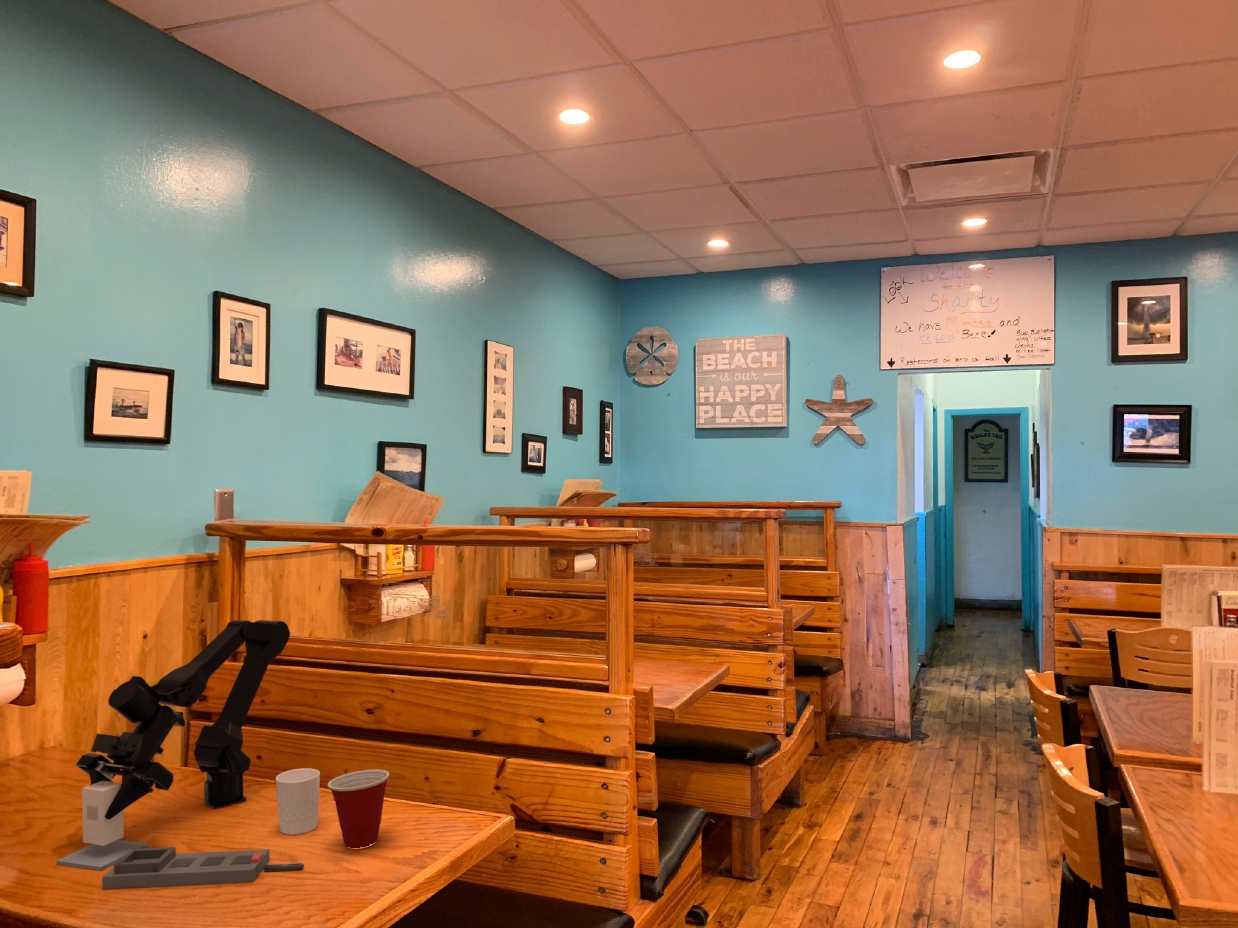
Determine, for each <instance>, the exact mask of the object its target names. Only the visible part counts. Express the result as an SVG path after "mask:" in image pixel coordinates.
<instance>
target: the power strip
mask: <svg viewBox="0 0 1238 928" xmlns="http://www.w3.org/2000/svg"><path fill="white" fill-rule="evenodd" d="M176 849H177V848H176V846H171V847H168V846H167V847H166V846H165V847H150V848H149V847H147V848H145V849H132V850H131V851H129V852H128V853H127V854H126V855H125V856H124V857H122V858H121V859H120V860H119V861H118V862H117V863H115V864H114V865H113V867H112V868H111V869H110V870H108V871H107V872H106V874H104V875H103V876H102V878H101V879H102V890H114V889H116V890H117V889H135V888H156V887H174V886H175V887H177V886H195V885H196V886H197V885H198V886H200V885H217V884H218V885H219V884H220V885H221V884H233V883H234V884H237V883H236V882H242V883H254V882H255V881H256V879H257V878H258V877H259V876H260V874H261V873H262V872H263V871H264V872H275V871H276V872H278V871H281V870H282V871H299V870H300V871H301V870H303V869H304V868H305V864H304V863H303V862H297V863H293V862H292V863H279V864H278V863H276V864H269V863H270V861H271V860H270V857H271V855H270V849H252V850H250V849H249V850H231V851H230V850H228V851H208V852H205V851H204V852H184V853H177V850H176ZM261 871H262V872H261ZM260 872H261V873H260ZM259 873H260V874H259ZM257 876H258V877H257ZM254 880H255V881H254Z"/></svg>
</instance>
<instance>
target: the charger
mask: <svg viewBox="0 0 1238 928" xmlns="http://www.w3.org/2000/svg"><path fill="white" fill-rule="evenodd" d="M121 785H122V782H121V783H120V782H114V781H113V782H108V781H101V782H98V783H95V784H92V785H87V786H84V787H82V788H81V802H82V804H81V807H82V843H84V844H85V843H86V844H90V845H92V844H96V845H101V846H104V845H107V844H109V843H111V842H113V841H116V840H121V839H123V838H124V837H125V835H124V810H122V811H121V812H120V813H118V814H117V815H115V816H114V817H113V818H111V819H106V818H105V814H106V812H107V810H108V808H109V806H110V805H111V803H112V801H113V800H114V798H115V796H116V794H117V793H118V791H119V789H120V788H121Z"/></svg>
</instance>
